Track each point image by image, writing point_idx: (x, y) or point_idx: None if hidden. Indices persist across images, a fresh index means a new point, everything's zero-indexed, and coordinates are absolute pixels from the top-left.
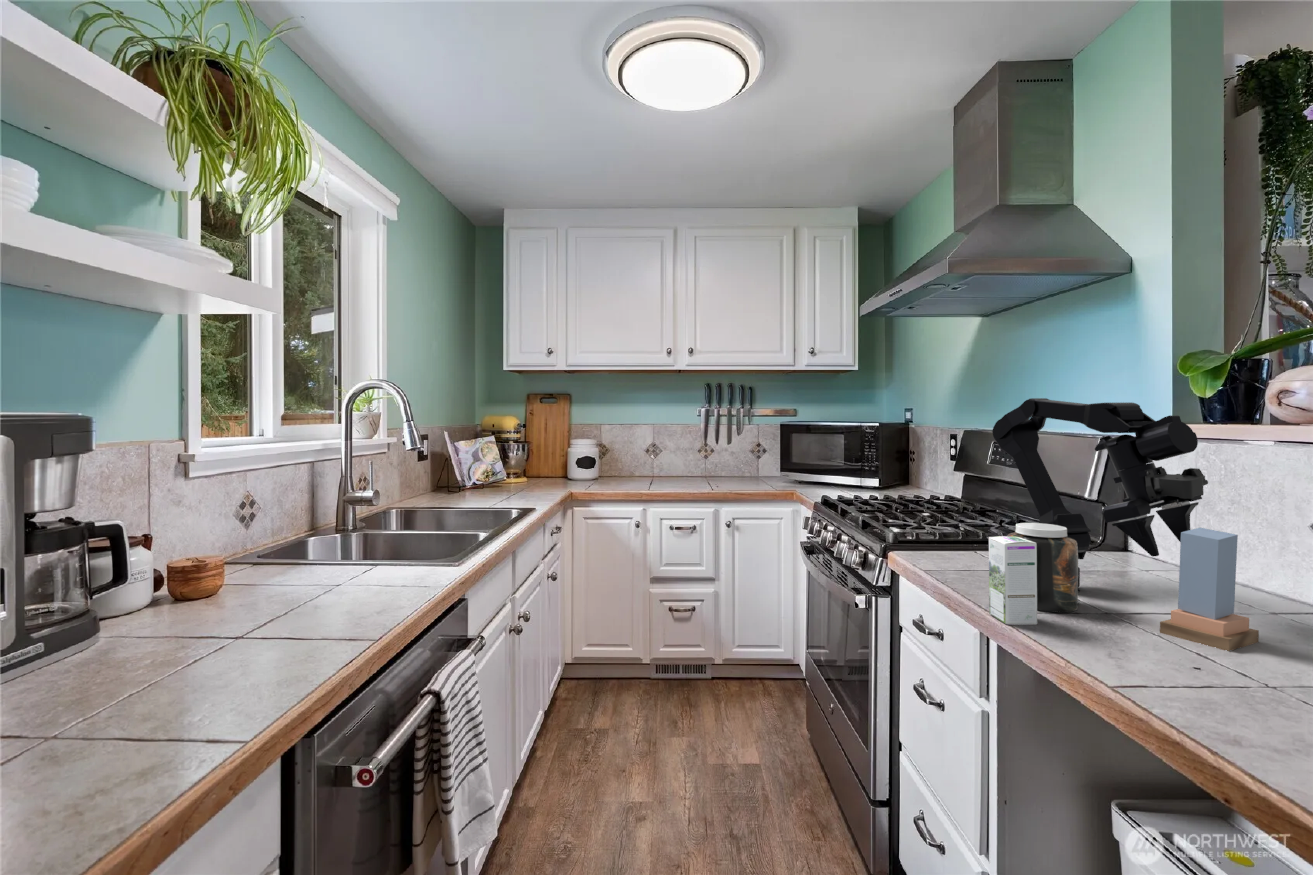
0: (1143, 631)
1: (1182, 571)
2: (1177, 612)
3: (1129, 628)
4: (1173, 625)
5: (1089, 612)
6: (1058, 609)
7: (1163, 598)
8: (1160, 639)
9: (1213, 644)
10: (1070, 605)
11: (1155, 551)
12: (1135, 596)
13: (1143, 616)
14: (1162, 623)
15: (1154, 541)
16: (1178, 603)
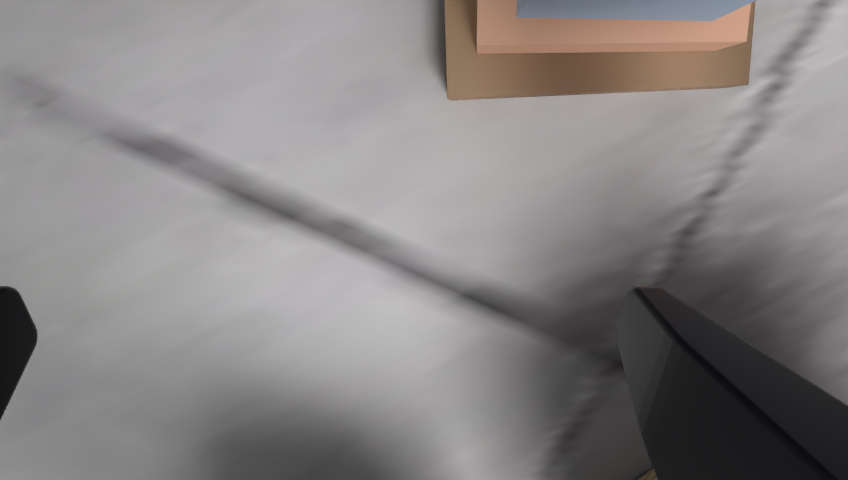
0: (772, 132)
1: None
2: (750, 4)
3: (781, 187)
4: (753, 17)
5: None
6: None
7: (130, 375)
8: (839, 25)
9: None
10: None
11: (693, 316)
12: (216, 445)
13: (511, 264)
14: (746, 72)
15: (771, 387)
16: (729, 11)
